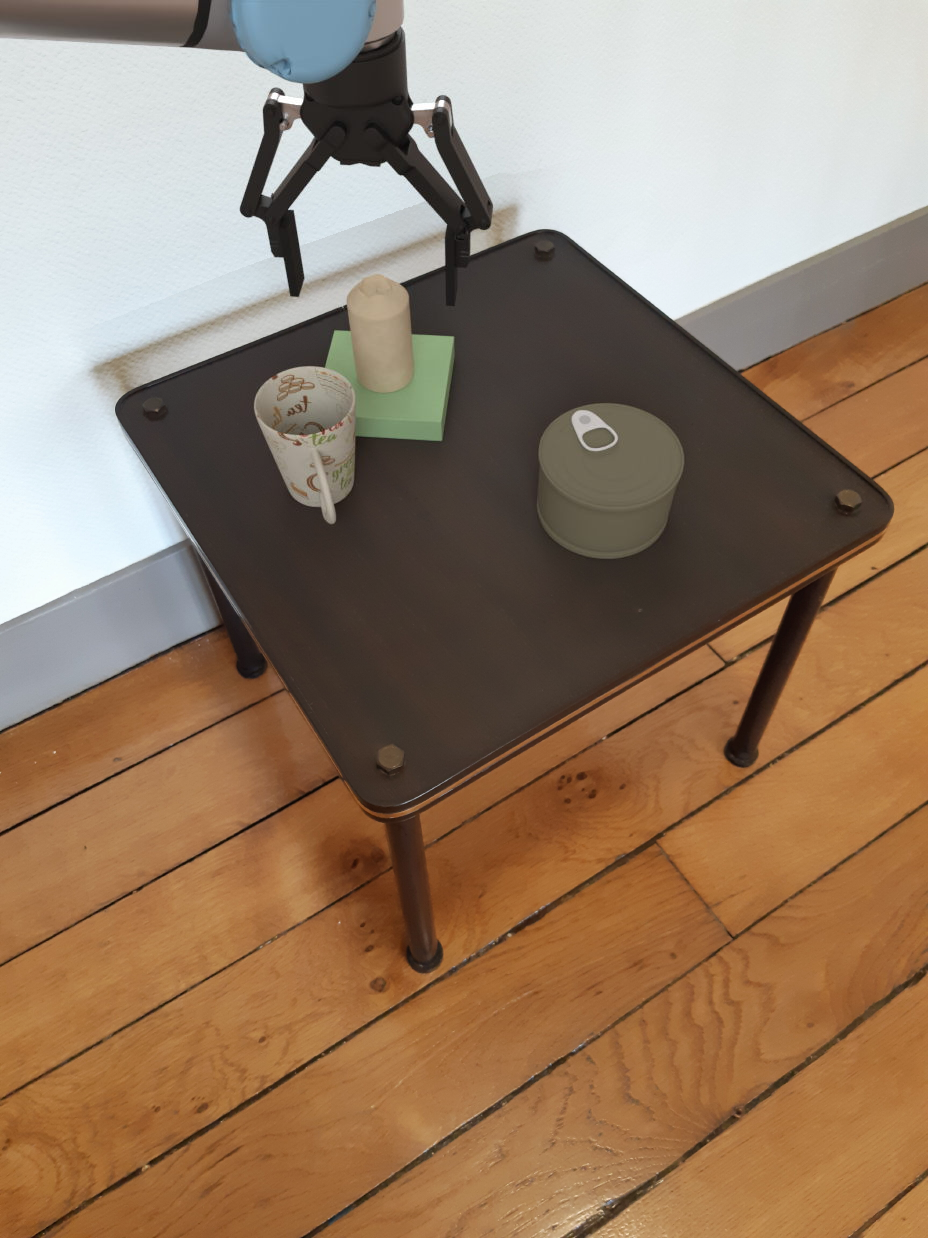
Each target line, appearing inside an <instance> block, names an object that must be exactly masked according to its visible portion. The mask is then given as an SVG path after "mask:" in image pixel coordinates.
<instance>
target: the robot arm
mask: <svg viewBox="0 0 928 1238" xmlns="http://www.w3.org/2000/svg"><path fill="white" fill-rule="evenodd" d="M404 2H405V1H404V0H0V39H10V40H11V39H13V40H28V41H29V40H31V41H51V42H70V43H71V42H72V43H87V44H88V43H89V44H108V45H127V46H128V45H130V46H145V47H146V46H147V47H149V46H150V47H166V48H167V47H168V48H184V49H185V48H186V49H199V50H212V51H227V52H228V51H229V52H240V53H241V52H242V53H245V55H246V57H247V58H248V59H249V60H250V61H251V62H252V63H253V64H254V65H256V66H257V67H259V68H261V69H263V70H267V71H269V72H270V73H271V74H273V75H275V76H277V77H279V78H281V79H282V80H285V81H286V82H287V81H288V82H290V83H295V84H302V89H303V98H299V97H292V96H287V95H286V93H285V92H284V90H283V89H281V88H280V87H272V88H271V89H270V90H269V92H268V94H267V98H266V100H265V102H264V105H263V107H262V119H263V120H262V123H263V125H262V126H263V134H262V138H261V142H260V144H259V147H258V150H257V154H256V156H255V160H254V163H253V165H252V169H251V172H250V174H249V178H248V180H247V181H248V182H247V185H246V187H245V189H244V193H243V196H242V199H241V203H240V205H239V213H240V214H241V215H242V216H243V217H245V218H247V219H249V218H251V219H252V218H253V217H255V218H258V219H260V220H261V221H262V222H263V223H264V224H265V227H266V231H267V236H268V241H269V247H270V252H271V254H272V255H273V258H279V259H280V258H282V259H283V262H284V270H285V275H286V281H287V286H288V293H289V296H290V297H291V298H300V296H301V295H300V294H301V292H302V288H303V286H304V285H303V284H304V282H305V278H306V277H305V271H304V265H303V258H302V253H301V247H300V240H299V233H298V226H297V221H296V215H295V210H294V209H290V208H291V207H292V205H293V204H294V202H295V201H296V200H297V198H299V196H300V195H301V194H302V192H303V191H304V189H305V188H306V187H307V186H308V184H310V182H311V181H312V180H313V178H314V177H315V175H316V174H317V173H318V172H320V171H321V170H322V168H323V167H324V166H325V165H326V163H327V162H328V161H329V160H330V159H331V158H332V159H333V160H335V161H337V162H339V165H340V166H354V165H359V164H361V165H365V166H368V167H375V168H381V165H382V164H385V163H387V164H388V165H389V166H390V167H391V169H393V171H394V172H395V173H396V174H397V175H399V176H400V177H401V176H402V177H404V178H405V179H406V181H408V183H409V184H410V185H411V186H412V187H413V188H414V189H415V191H416V192H417V193H418V194H419V195H420V196H421V197H422V199H424V201H425V202H426V203H427V204H428V206H430V207H431V209H432V210H433V211H434V212H435V213H436V214H437V215H438V216H439V217H440V218H441V220H442V221H443V223H445V224H446V228H445V234H444V271H445V272H444V273H445V274H444V275H445V277H444V279H445V306H447V307H455V306H456V300H457V293H458V288H459V286H458V285H459V284H458V283H459V281H458V277H459V276H458V275H459V274H458V271H459V270H458V268H463V269H467V268H468V265H469V264H470V257H471V233H473V231H475V230H478V229H479V230H481V231H487V230H489V229H490V228H491V226H492V220H493V212H494V204H493V203H494V202H493V201H492V199H491V197H490V195H489V193H488V191H487V189H486V186H485V185H484V183H483V181H482V179H481V177H480V175H479V173H478V171H477V169H476V167H475V165H474V163H473V161H472V158H471V156H470V154H469V152H468V151H467V148H466V147H465V144H464V142H463V141H462V137H460V135H459V132H458V130H457V128H456V126H455V121H454V113H453V105H452V100H451V98H450V97H449V96H447V95H446V94H440V95H438V96H437V97H436V98H435V102H425V103H423V102H422V103H414V102H413V100H412V98H411V96H410V93H409V86H408V69H407V67H408V66H407V65H408V64H407V45H406V32H405V30H404V29H403V27H402V25H403V24H404V20H405V3H404ZM297 119H300V120H301V122H302V123H303V125H304V127H306V129H307V130H308V131H309V132H310V133H311V135H312V136H313V138H312V140H311V141H310V144H309V145H308V146H307V148H306V149H305V150H304V152H303V153H302V154H301V156H300V157H299V159H298V160H297V161H296V163H295V164H294V165H293V166H292V168H291V169H290V170H289V172H288V173H287V175H286V176H285V177H284V178H283V180H282V182H281V183H279V185H278V187H277V188H276V189H275V191H274V192H271V194H270V196H267V195H265V194H263V192H264V188H265V186H266V183H267V181H268V177H269V175H270V171H271V170H272V166H273V163H274V160H275V157H276V154H277V152H278V148H279V146H280V142H281V140H282V136H283V134H284V132H285V131H289V130H290V129H292V127H293V125H294V122H295V120H297ZM414 125H419V126H421V127H422V129H423V131H424V133H425V134H426V136H427V137H428V139H433V140H434V144H435V146H436V150H437V152H438V154H439V156H440V158H441V160H442V162H443V163H444V166H445V168H446V170H447V172H448V174H449V175H450V178H451V179H452V181H453V183H454V186H455V187H456V189H457V191H458V193H459V194H458V193H457V192H456V191H455V190H454V188H453V187H451V185H450V184H449V183H448V182H447V180H446V179H445V178H444V177H443V176H442V175H441V174H440V172H439V171H438V170H437V169H436V167H434V165H433V164H432V163H431V162H430V161H429V160H428V159H427V157H425V155H424V154H423V152H421V150H420V149H419V147H418V144H417V142H416V140H415V139H414V138H413V137H412V135H410V133H411V130H412V129H413V127H414Z"/></svg>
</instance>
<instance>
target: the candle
mask: <svg viewBox="0 0 928 1238" xmlns="http://www.w3.org/2000/svg"><path fill="white" fill-rule="evenodd" d="M410 307H411V306H410V295H409V292H408V291H407V289H406V288H405V287H404V286H403V285H401V284H400V283H398V282H397V281H395V280H393V279H391V278H389V277H387V276H385V275H383V274H380V273H375V274H371V275H368V276H366V277H364V278H363V279H362V280H361V281H359V282H358V283H357V284H356V285H355V286H354V287H353V288H352V289H351V290H350V291H349V292H348V294H347V296H346V308H347V316H348V323H349V331H351V338H352V346H353V353H354V360H355V368H356V374H357V378H358V380H359V382H360V384H361V385H362V386H363V387H365V388H366V389H368V390H370V391H373V392H378V393H389V392H394V391H397V390H400V389H402V388H404V387H405V386H407V385H408V384H409V383H410V381H411V380H412V378H413V374H414V361H413V347H412V334H413V333H412V320H411V308H410Z"/></svg>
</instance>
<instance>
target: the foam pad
mask: <svg viewBox="0 0 928 1238" xmlns="http://www.w3.org/2000/svg"><path fill="white" fill-rule="evenodd" d="M412 347H413V361H414V374H413V378H412V380H411V381H410V383H409V384H408V385H407V386H405V387H404V388H402V389H400V390H397V391H394V392H389V393H378V392H373V391H370V390H368V389H366V388H365V387H363V386H362V385H361V384H360V382H359V380H358V378H357V374H356V368H355V360H354V353H353V346H352V338H351V331H350V330H339V329H338V330H336V329H335V330H334V332H333V335H332V338H331V343H330V346H329V350H328V353H327V358H326V362H325V366H324V368H327V369H330V370H333V371H335V372H337V373H339V374H341V375H342V376H344V377H345V378H346V379H347V380H348V381H349V382H350V384H351V385H352V387H353V389H354V392H355V397H356V429H355V437H364V438H381V439H396V440H397V439H399V440H412V441H413V440H414V441H416V440H417V441H432V442H442V441H443V437H444V431H445V425H446V419H447V418H446V417H447V410H448V404H449V398H450V390H451V383H452V376H453V370H454V364H455V357H456V356H455V355H456V353H455V351H456V350H455V336H452V335H435V334H432V335H431V334H416V333H415V334H414V333H412Z"/></svg>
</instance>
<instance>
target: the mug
mask: <svg viewBox="0 0 928 1238" xmlns="http://www.w3.org/2000/svg"><path fill="white" fill-rule="evenodd" d="M253 401H254V402H253V410H254V414H255V417H256V421H257V423H258V425H259V427H260V430H261V432H262V434H263V437H264V439H265V441H266V443H267V446H268V448H269V450H270V452H271V454H272V457H273V459H274V462H275V464H276V466H277V468H278V470H279V472H280V474H281V477H282V479H283V481H284V484H285V486H286V488H287V490H288V492H289V494H290V495H291V496H292V498H293V499H294V500H295V501H297V502H298V503H300V504H302V505H304V506H307V507H313V508H320V509H321V512H322V513H321V514H322V517H323V519H324V520H325V521H326V523H327V524H329V525H334V524H336V521H337V513H336V508H335V505H336V504H337V503H339V502H341V501H343V500H344V499H345V498H347V496H348V495H349V494H350V492H351V491H352V489H353V487H354V483H355V467H356V466H355V463H356V436H355V429H356V397H355V392H354V389H353V387H352V385H351V384H350V382H349V381H348V380H347V379H346V378H345V377H344V376H342V375H341V374H339V373H337V372H335V371H333V370H330V369H327V368H325V367H323V366H322V367H321V366H315V365H314V366H312V365H307V366H298V367H297V366H296V367H293V368H292V367H291V368H289V369H286V370H283V371H281V372H279V373H276V374H275V375H273V376H272V377H270V378H269V379H268V380H266V381H265V382H264V383H263V384H262V385H261V386H260V388H259V389H258V391H257V392H256V394H255V398H254V400H253Z"/></svg>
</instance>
